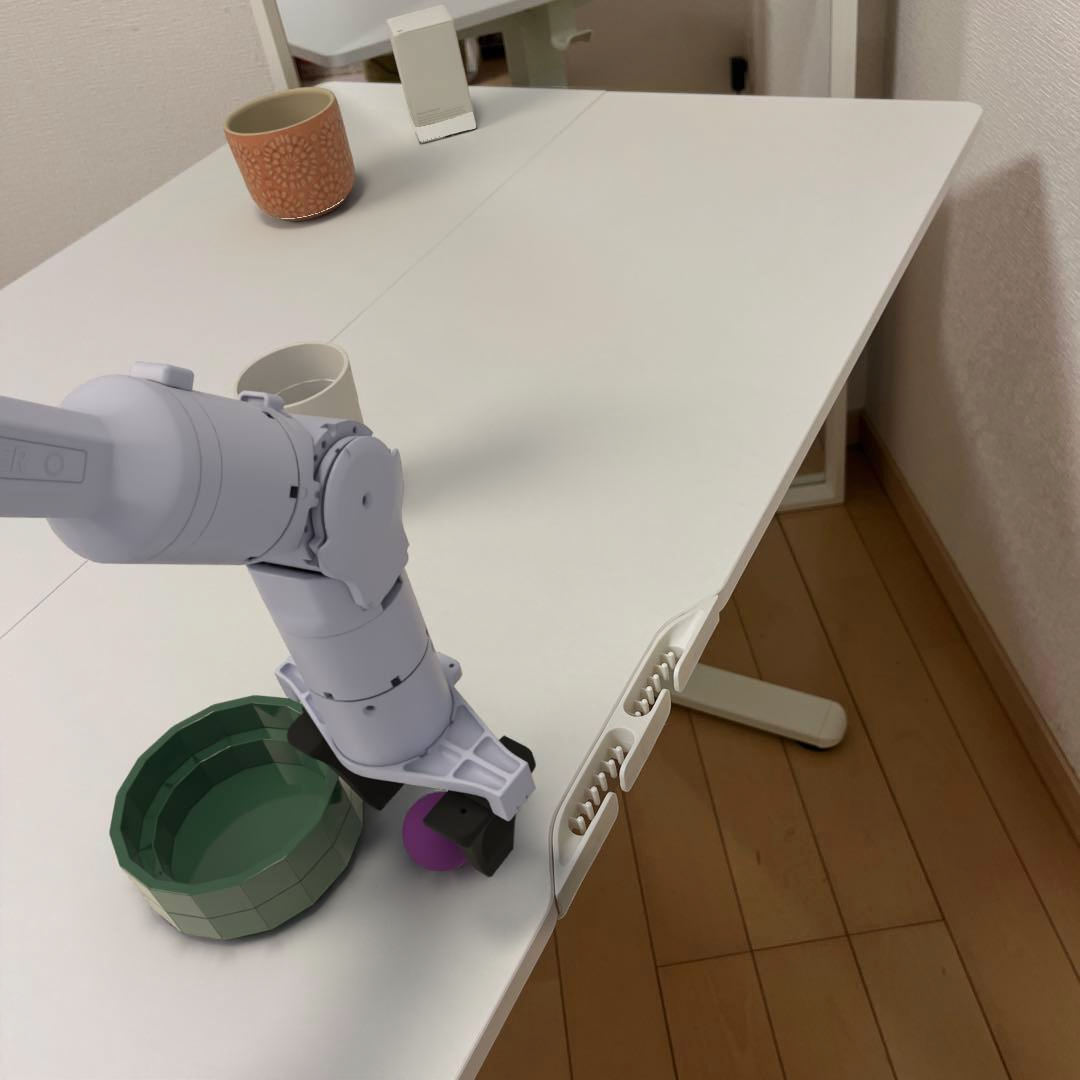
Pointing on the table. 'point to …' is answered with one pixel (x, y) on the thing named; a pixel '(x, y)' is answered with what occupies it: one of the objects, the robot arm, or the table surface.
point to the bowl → (233, 821)
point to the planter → (292, 152)
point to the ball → (429, 838)
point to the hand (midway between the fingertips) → (440, 826)
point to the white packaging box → (430, 65)
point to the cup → (305, 380)
